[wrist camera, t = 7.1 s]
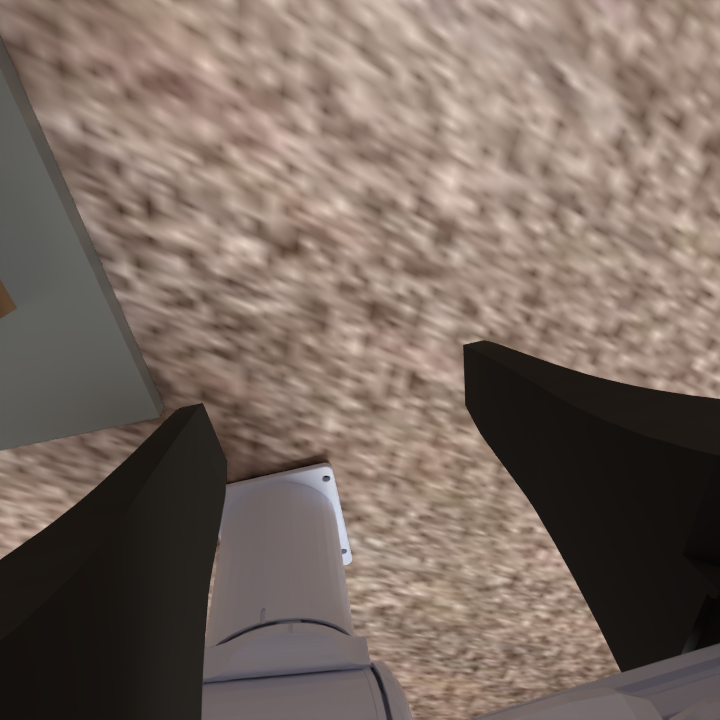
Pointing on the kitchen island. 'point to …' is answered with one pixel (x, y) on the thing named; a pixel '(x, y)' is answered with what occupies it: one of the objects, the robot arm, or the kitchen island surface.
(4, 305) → the cube
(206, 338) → the kitchen island surface
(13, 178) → the board
